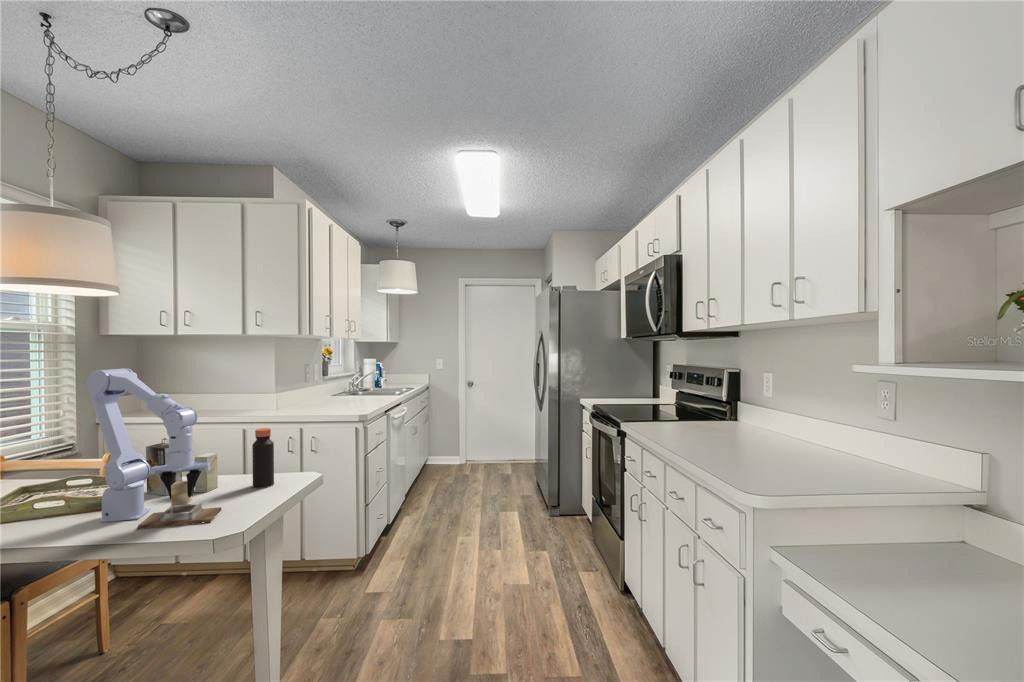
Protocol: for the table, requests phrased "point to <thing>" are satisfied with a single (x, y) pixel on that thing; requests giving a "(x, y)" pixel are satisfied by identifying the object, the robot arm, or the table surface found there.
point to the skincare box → (207, 473)
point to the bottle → (263, 459)
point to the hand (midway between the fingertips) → (181, 496)
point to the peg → (180, 493)
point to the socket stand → (180, 516)
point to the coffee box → (158, 457)
